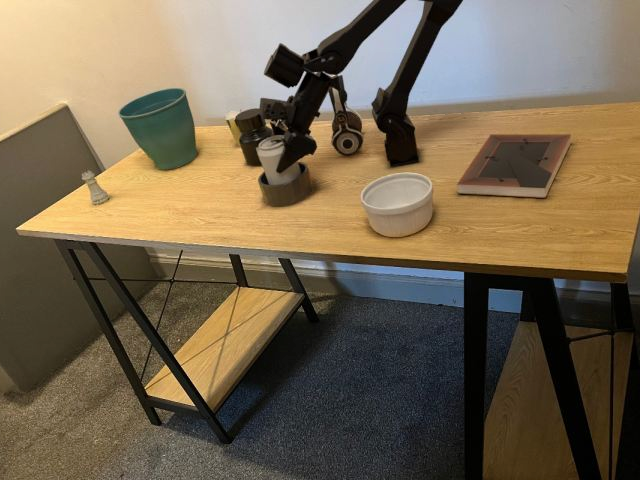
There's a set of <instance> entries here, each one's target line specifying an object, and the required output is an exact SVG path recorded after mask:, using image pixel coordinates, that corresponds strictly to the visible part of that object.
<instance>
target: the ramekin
mask: <svg viewBox="0 0 640 480" xmlns="http://www.w3.org/2000/svg"><path fill="white" fill-rule="evenodd" d="M433 194H434V186H433V182H432V180H431V178H430V177H428V176H427V175H424V174H421V173H419V172H411V171H409V172H396V173H391V174H388V175H384V176H381V177H379V178H376V179H374V180H372V181H371V182H370V183H368V184H367V185H366V186H365V187H364V188H363V189H362V191H361V193H360V202H361V207H362V208H363V209H364V211H365V215H366V216H367V219H368V221H369V222H368V223H369V225H370V227H371V228H372V230H374V231H375V232H376V233H378V234H380V235H381V236H384V237H388V238H402V237H409V236H411V235H414V234H416V233H418V232H420V231H422V230H423V229H425V228H426V226H427V225H429V222H431V220H432V217H433V202H434V201H433Z"/></svg>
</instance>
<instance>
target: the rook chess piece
mask: <svg viewBox="0 0 640 480" xmlns="http://www.w3.org/2000/svg"><path fill="white" fill-rule="evenodd" d="M81 180H83V181H84V182H85V185H86V186H87V187H88V190H89V193H90V194H89V195H90V200H91V201H92V202H91V203H92V204H94V205H102V204H105V203H106V202H107V201H108V200H109V198H110V195H109V194H108V192H107V191H106V190H104V189H103V188H102V187H101V186H100V184H99V183H98V181H97V178H95V172H93V171H92V170H87V171H83V172H82V173H81Z"/></svg>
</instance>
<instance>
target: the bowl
mask: <svg viewBox="0 0 640 480" xmlns="http://www.w3.org/2000/svg"><path fill="white" fill-rule="evenodd" d="M298 165H299V168H300V171H301V174H302V175H301V176H299V177H298V178H296V179H294V180H292V181H290V182H287V183H284V184H279V185H269V183H268V180H267V177H266V174H265V172H264V171H263V172H262V173H261V174H260V175H259V176H258V178H257V182H258V185H259V188H260V191H261V194H262V196H263V200H264V202H265V203H266V205H267V206H270V207H275V208H282V207H288V206H292V205H295V204H298V203H301V202H302V201H304V200H306V199H307V198H309V197H310V196H311V195H312V193H313V191H314V188H315V187H314V183H313V179H312V176H311V172H310V169H309V166H308V164H307V163H305V162H303V161H298Z"/></svg>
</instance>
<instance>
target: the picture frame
mask: <svg viewBox="0 0 640 480" xmlns="http://www.w3.org/2000/svg"><path fill="white" fill-rule="evenodd" d="M571 143H572V134H571V133H569V134H565V133H563V134H559V133H558V134H550V133H549V134H548V133H547V134H546V133H544V134H541V133H540V134H539V133H538V134H536V133H534V134H532V133H531V134H525V133H524V134H517V133H516V134H511V133H510V134H505V133H504V134H497V133H496V134H490V135H489V136H488V137H487V139H486V141H484V144H482V146H481V148H480V149H479V151H478V153H477V154H475V155H476V156H475V157H474V158H473V160H472V161H471V163H470V164H469V166H468V167H467V168H466V170H465V172H464V173H463V175H461V177H460V179H459V180H458V182H457V183H456V188H457V189H456V190H457V193H458V194H462V195H463V194H464V195H465V194H466V195H482V196H502V197H503V196H504V197H505V196H506V197H517V198H518V197H520V198H537V199H538V198H541V199H545V198H546V197H547V195H548V193H549V191H550V188H551V186H552V184H553V182H554V181H555V178H556V176H557V173H558V171H559V169H560V167H561V165H562V163H563V160H564V158H565V156H566V155H567V152H568V150H569V148H570V146H571Z"/></svg>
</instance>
